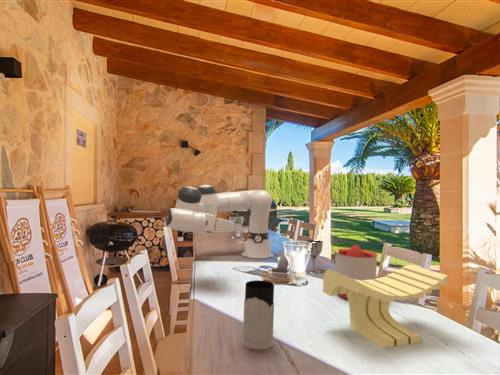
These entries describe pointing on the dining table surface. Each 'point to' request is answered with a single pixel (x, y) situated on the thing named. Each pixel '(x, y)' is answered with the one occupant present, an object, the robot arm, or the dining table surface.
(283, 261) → the pipe elbow
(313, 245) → the wine glass
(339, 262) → the citrus juicer
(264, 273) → the collar plate
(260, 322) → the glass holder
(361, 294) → the slatted curved stool
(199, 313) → the dining table surface
